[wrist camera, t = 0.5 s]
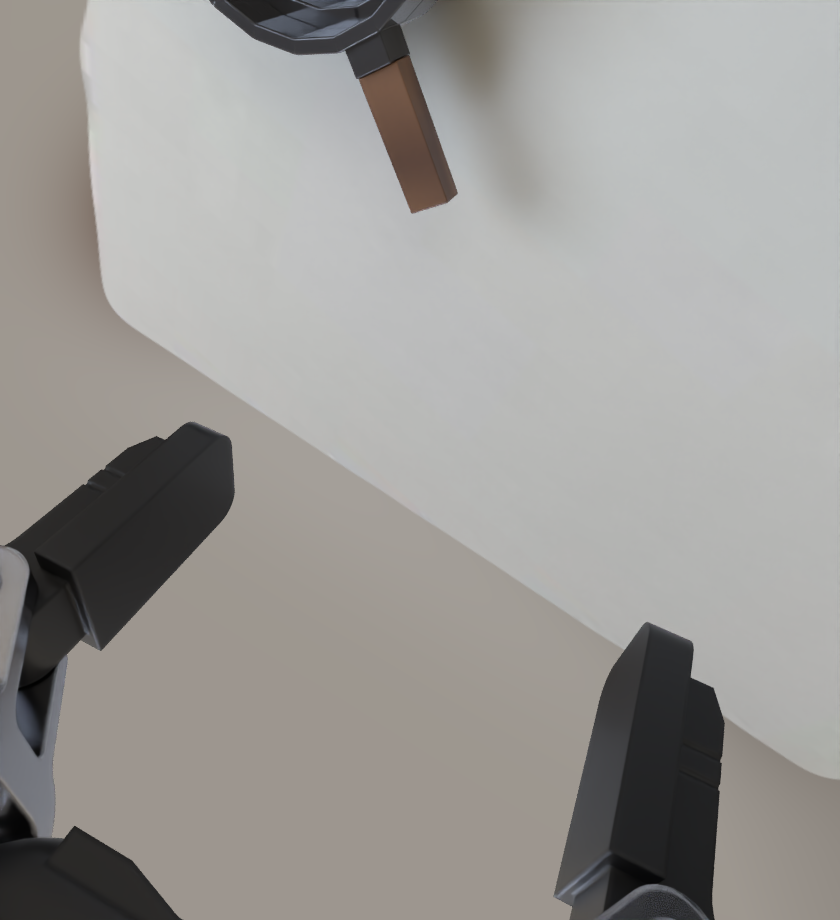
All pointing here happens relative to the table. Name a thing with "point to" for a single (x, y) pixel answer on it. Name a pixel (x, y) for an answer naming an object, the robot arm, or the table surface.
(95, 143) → the table surface
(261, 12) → the pan
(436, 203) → the pan handle
